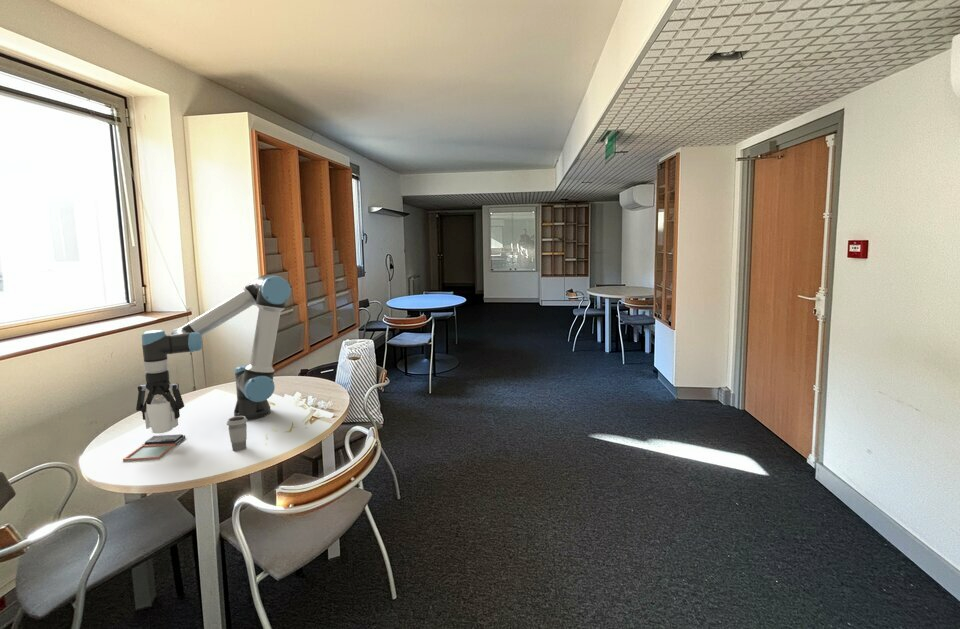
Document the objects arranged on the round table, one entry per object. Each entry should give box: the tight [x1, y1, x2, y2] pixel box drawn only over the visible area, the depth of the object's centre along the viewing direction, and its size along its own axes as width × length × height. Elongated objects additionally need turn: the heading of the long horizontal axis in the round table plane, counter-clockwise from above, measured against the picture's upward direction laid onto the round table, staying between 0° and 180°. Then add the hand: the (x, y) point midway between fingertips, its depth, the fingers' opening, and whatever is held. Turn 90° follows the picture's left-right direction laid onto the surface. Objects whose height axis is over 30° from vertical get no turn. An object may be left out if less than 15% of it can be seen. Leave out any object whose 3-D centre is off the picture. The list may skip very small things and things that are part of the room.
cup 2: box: [226, 416, 248, 452], centre depth 181 cm, size 7×7×12 cm
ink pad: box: [141, 433, 186, 446], centre depth 188 cm, size 12×8×2 cm, turn 97°
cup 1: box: [146, 397, 174, 434], centre depth 186 cm, size 9×9×12 cm
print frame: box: [122, 444, 177, 463], centre depth 178 cm, size 12×12×1 cm
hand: (162, 426), depth 187 cm, fingers closed on cup 1, 9 cm apart
